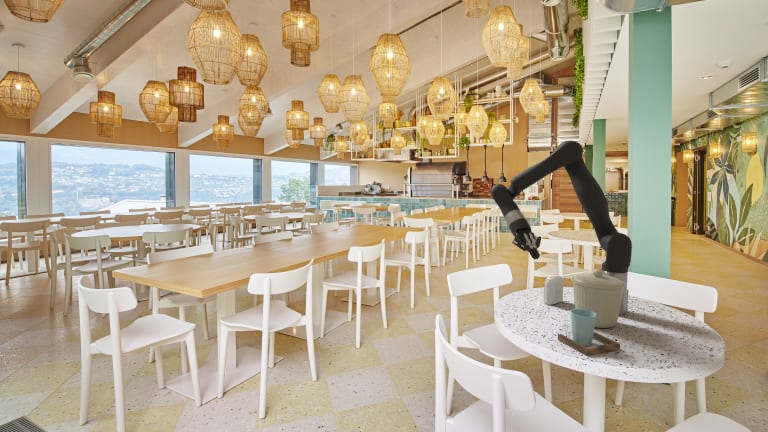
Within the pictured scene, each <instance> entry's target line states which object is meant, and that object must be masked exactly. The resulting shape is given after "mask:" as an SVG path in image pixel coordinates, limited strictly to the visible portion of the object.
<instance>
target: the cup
mask: <svg viewBox="0 0 768 432" xmlns="http://www.w3.org/2000/svg"><path fill="white" fill-rule="evenodd" d="M596 316H597V315H596V313H594V312H592V311H589V310H584V309H575V308H574V309H571V310H570V319H571V321H570V322H571V333H572V334H571V335H572V340H574V341H576V342H577V343H579V344H581V345H583V346H585V347H591V346H592V344H593V340H594V339H593V333H594V332H595V328H596V327H595V321H596Z"/></svg>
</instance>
